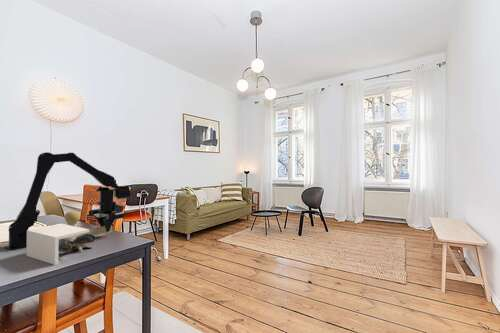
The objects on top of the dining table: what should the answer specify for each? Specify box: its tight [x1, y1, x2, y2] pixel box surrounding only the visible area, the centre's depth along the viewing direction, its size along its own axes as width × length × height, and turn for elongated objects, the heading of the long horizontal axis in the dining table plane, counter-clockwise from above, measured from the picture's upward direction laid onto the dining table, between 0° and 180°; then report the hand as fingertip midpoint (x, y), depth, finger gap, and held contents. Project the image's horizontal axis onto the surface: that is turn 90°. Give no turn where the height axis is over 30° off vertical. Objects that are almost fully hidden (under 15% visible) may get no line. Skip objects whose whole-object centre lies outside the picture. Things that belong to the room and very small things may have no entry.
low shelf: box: [25, 223, 90, 266], centre depth 92 cm, size 18×12×10 cm, turn 66°
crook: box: [59, 225, 113, 251], centre depth 111 cm, size 10×24×4 cm, turn 160°
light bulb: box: [64, 210, 81, 227], centre depth 124 cm, size 6×6×10 cm
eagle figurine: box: [64, 234, 97, 255], centre depth 97 cm, size 8×7×9 cm
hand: (106, 231), depth 121 cm, fingers closed on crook, 3 cm apart
